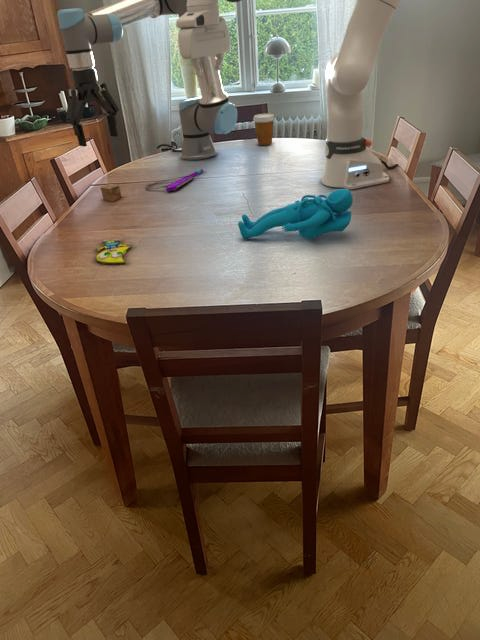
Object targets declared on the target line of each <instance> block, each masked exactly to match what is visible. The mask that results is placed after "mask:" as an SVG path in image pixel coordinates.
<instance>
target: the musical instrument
mask: <svg viewBox="0 0 480 640" xmlns="http://www.w3.org/2000/svg"><path fill="white" fill-rule="evenodd" d="M204 172H205V170H204V168H201V169H198V170H196V171H195V170H194V172H191V173H190V174H188V175H184V176H179V177H174V178H169V179H164V180H159V181H156V182H153V183H150V184H146V185H145V188H146V189H152V190H153V189H154V190H155V189H157V190H158V189H162V188H166V191H167V192H171V191H177V190H178V189H179V187H182V186H183V185H184V184H186V183H188V182H189V181H191V180H193V179H195V176H197V175H199V174H202V173H204ZM175 179H176V180H175ZM171 180H175V181H173V182H170V183H168V184H166V185H164V186H160V187H151V186H152V185H154V184H158V183H162V182H165V181H166V182H167V181H171Z"/></svg>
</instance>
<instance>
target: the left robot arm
mask: <svg viewBox="0 0 480 640" xmlns="http://www.w3.org/2000/svg"><path fill="white" fill-rule="evenodd" d="M186 12H187V0H117V1H114V2H112V3H109V4H107V5H104V6H101V7H98V8H95V9H94V10H91V11H88V12H86V13H85V12H84V9H83V8H80V7H78V8H77V7H74V8H65V9H64V8H63V9H59V10H58V11H57V22H58V26H59V31H60V34H61V38H62V42H63V46H64V50H65V54H66V59H67V62H68V66H69V67H68V68H69V69H71V71H70V75H71V79H72V83H73V85H74V87H75V89H72V88H71V89H70V88H68V89H67V90H66V93H67V107H66V117H65V124H67V125H71V126H72V128H73V132H74V135H75V136H76V137H77V142H78V145H79V147H87V146H88V144H87V140H86V136H85V132H84V127H83V124H82V123H80V122H81V119H82V117H83V114H84V110H85V107H86V105H87V104H88V103H92V102H96V103H97V104H98V105H99V106H100V107H101V109H103V111H104V112H105V113H106V114H107V115H106V121H107V126H108V129H109V130H108V131H109V134H110V137H119V135H118V131H117V119H116V116H117V115H118V113H119V111H120V109H119V107H118V105H117V104H116V101H115V100H114V98H113V96H112V95H111V93H110V91H109V90H108V85H107V84H106V83H105V82H98V81H99V79H98V73H97V70H96V68H94V67H95V66H96V64H95V59H94V55H93V50H92V46H93V45H100V44H110V43H112V44H113V43H115V42H119V41H121V39H122V38H123V34H124V29H123V28H125V27H126V28H127V27H128V26H131V25H134V24H136V23H138V22H140V21H143V20H145V19H148V18H151V19H157V18H159V17H162V16H175V15H176V16H178V18H180V17H181V16H182V15H184V14H185V13H186ZM199 64H200V67H201V68H203V75H200V76H196V77H197V82H198V87H199V92H200V95H201V96H198V97H194V98H190V99H189V98H188V99H183V100H181V101H180V102H179V103H178V109H179V111H178V112H179V119H180V125H181V132H182V144H181V149H177V148H176V146H175V145H172V144H167V143H161V144H159V145H157V147H156V150H157V149H160V148H162V147H169V148H171V152H172V153H180V158H181V159H182V160H185V161H201V160H202V161H203V160H208V159H210V158H213V157H215V156H216V155H217V148H216V147H215V145H214V141H213V140H212V137H211V134H217V135H228V134H230V133H231V132H232V131H233V130H234V128H235V127H236V125H237V122H238V109H237V107H236V105H235V104H234V103H232V102H230V99H229V98H230V97H229V94H228V93H227V92H225V91H224V88H223V84H222V79H221V75H220V71H215V67H214V65H215V64H216V57H215V55H209V56H204V57H200V62H199Z"/></svg>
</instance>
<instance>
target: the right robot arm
mask: <svg viewBox="0 0 480 640" xmlns="http://www.w3.org/2000/svg"><path fill="white" fill-rule="evenodd" d="M225 1H226V2H229V3H239V2H241V1H242V0H225ZM400 1H401V0H356V3H355V5H354V8H353V11H352V13H351V15H350V17H349V20H348V22H347V25H346V29H345V34H344V35H343V40H342V42H341V46H340V48H339V52H337V53H335V54H333V56H332V57H331V58H330V59H329V61H328V62H327V65H326V68H325V69H326V70H325V86H326V89H325V91H326V108H327V109H326V111H327V123H326V124H327V126H326V127H327V129H326V130H327V132H326V139H325V145H324V154H325V155H324V156H325V164H324V168H323V169H324V170H323V175H322V178H321V183H322V185H324V186H327V187H330V188H337V189H348V190H356V189H361V188H366V187H371V186H376V185H380V184H385V183H389V182H390V176H389V175H388V174H387V173H386V172H385V171H384V168H383V165H384V167H385V168H386V169H387V170H393V169H395V168H397V167H399V164H398V163H396V164H394V165H391V166H390V165H388V164H387V162H386V161H384V160H382V158H380V157H377V156H376V155H375V154H373V152H371V151H370V150H368V148H370V147H371V146H373V141H372V140H371V139H368V138H367V139H366V138H364V137H362V134H363V117H364V110H363V109H364V108H363V100H362V99H363V96H362V91H363V90H364V89H365V88H366V86H368V83H369V80H370V77H371V76H370V75H371V73H372V71H373V68H374V65H375V62H376V60H377V56H378V53H379V51H380V47H381V43H382V41H383V39H384V36H385V34H386V32H387V30H388V27H389V25H390V23H391V21H392V19H393V17H394V14H395V12H396V10H397V8H398V6H399V4H400ZM175 23H176V27H177V29H179V30H178V32H177V33H178V34H177V38H178V48H179V54H180V56H181V58H182V60H190V63H191V65H192V67H193V69H194V74H195V76H196V77H197V76H200V75H203V68H201V67H200V64H199V62H200V57H204V56H209V55H215V57H216V64H215V65H214V67H215V71H219V72H220V71H222V70H223V61H224V58H225V57H224V56H225V55H224V53H225V54H226V53H229V52H231V48H232V44H231V43H232V42H231V35H230V30H229V26H228V25H227V21H226V20H225V18H224V17H223V16H220V8H219V0H187V12H186V13H185V14H184V15H182V16H181V17H180V18H179V17H178V18H177V19H176V21H175Z"/></svg>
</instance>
